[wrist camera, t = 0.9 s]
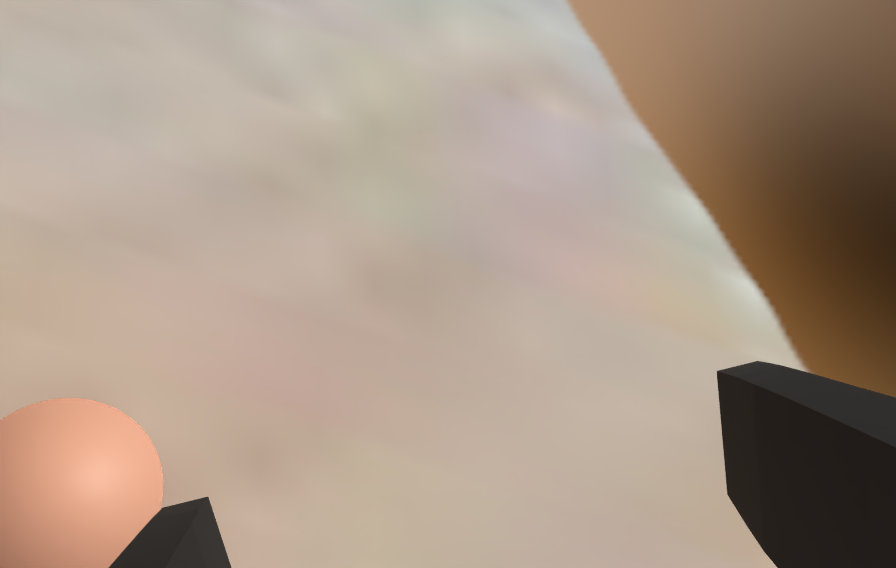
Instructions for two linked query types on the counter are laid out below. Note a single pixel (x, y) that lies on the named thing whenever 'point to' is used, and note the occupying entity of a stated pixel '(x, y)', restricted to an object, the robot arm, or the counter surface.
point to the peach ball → (74, 484)
